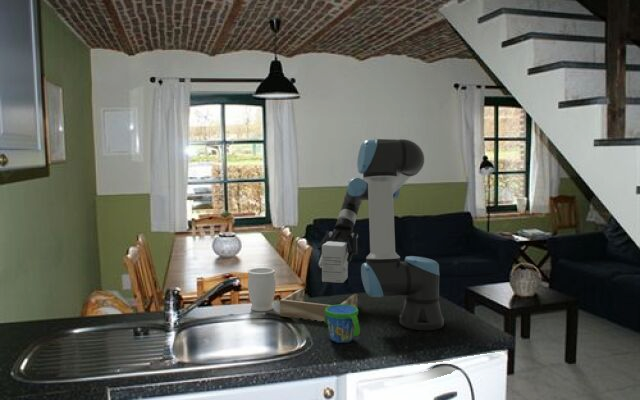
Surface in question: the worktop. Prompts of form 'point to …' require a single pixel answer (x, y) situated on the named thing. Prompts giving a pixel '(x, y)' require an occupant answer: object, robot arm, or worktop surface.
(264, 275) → the jar
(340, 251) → the supplement box
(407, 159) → the robot arm
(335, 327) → the snack cup
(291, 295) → the wooden u-shaped frame
